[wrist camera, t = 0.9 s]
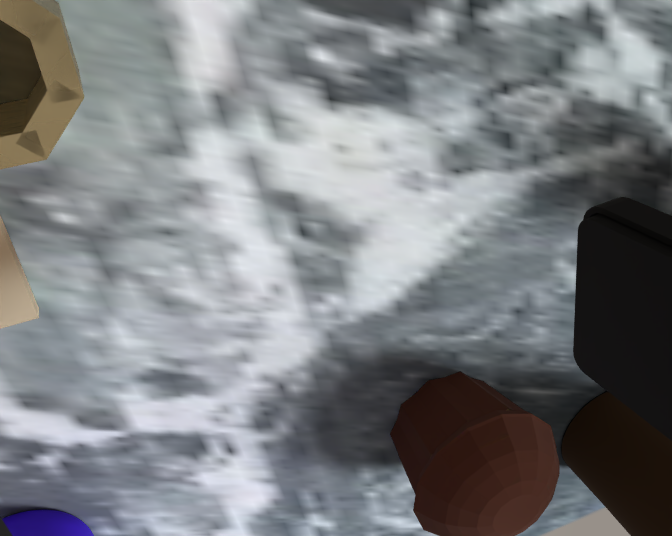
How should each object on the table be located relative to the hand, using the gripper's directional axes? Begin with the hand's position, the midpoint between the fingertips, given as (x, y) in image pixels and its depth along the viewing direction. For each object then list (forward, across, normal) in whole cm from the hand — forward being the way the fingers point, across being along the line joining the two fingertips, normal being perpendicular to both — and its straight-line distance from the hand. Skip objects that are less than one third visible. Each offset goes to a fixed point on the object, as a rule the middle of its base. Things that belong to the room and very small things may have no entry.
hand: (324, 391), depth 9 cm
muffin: (+26, -15, +30) cm, 43 cm away
